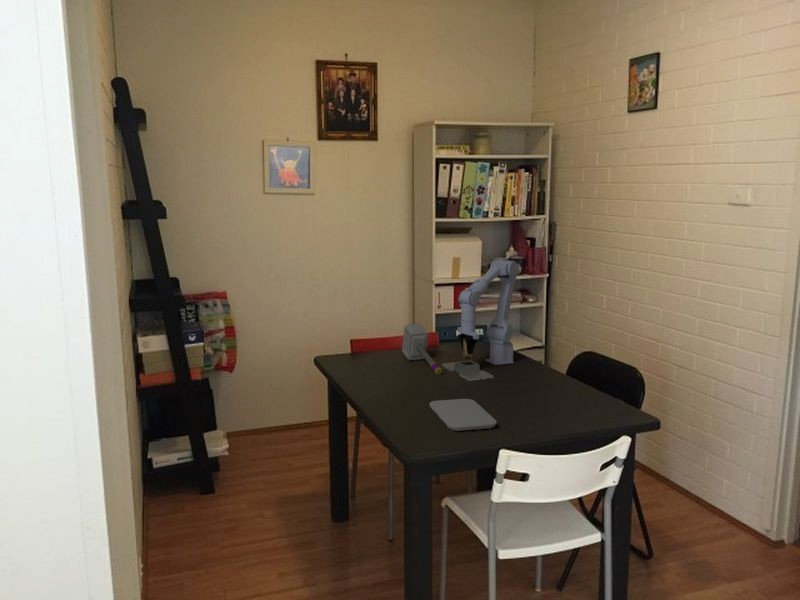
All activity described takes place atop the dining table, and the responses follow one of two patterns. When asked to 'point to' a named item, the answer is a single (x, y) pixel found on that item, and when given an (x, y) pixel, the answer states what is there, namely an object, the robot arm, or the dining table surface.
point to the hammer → (417, 345)
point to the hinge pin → (465, 351)
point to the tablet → (462, 414)
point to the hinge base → (468, 370)
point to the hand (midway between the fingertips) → (467, 352)
